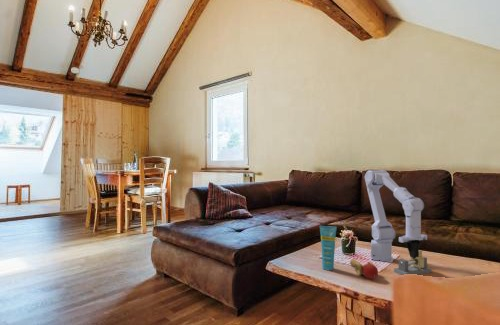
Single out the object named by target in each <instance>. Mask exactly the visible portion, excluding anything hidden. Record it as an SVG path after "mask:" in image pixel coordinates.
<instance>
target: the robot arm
mask: <svg viewBox="0 0 500 325" xmlns="http://www.w3.org/2000/svg"><path fill="white" fill-rule="evenodd" d="M364 180H365V185H366V189H367V194H368V195H367V196H368V198H369V203H370V206H371V211H372V214H373V215H372V216H373V219H374V223H372V224H371V226H370V227H371V237H372V238H373V239H371V241H370V243H371V244H370V259H371V260H372V259H373V261H379V260H380V262H381V261H382V262H386V263H387V262H388V263H393V261H394V260H393V256H392V254H393V253H392V252H393V251H392V250H393V248H392V244H393V242H394V239H395V238H396V230H395V229H394V227H393V225H392V223H391V222H390V221H388V219H387V217H386V212H385V209H384V205H383V201H382V198H381V197H382V196H381V193H380V189H381V188H382V187H383V186H385V187H386V188H388V190H390V191H391V192H392V193H393V197H394V198H395V199H397V200H398V202H399V203H401V204H402V205H401V206H402V209H403V211H404V215H405V235H402V236H399V237H398V242H399V243H404V244H405V245H406V248H407V250H408V254H409V257H410V258H411V257H412V258H416V257H417V253H418V250H420V248H421V246H422V245H423V240H426V241H427V240H428V234H423V233H422V232H421V231H422V228H421V227H422V224H421V223H422V215H421V214H422V211H423V210H424V208H425V203H424V201H423V200H422V199H421V198H419V197H415V196H414V195H413V194H412V193H411V192H409V191H408V189H407V188H406V187H403V186H399V184H397V183H396V182H395V180H394V179H393V178H392V177H391V176H390V173H389V172H387V170H385V169H381V170H379V169H378V170H377V169H376V170H374V169H373V170H372V169H371V170H370V169H368V170H367V171H366V173H365V175H364Z"/></svg>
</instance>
